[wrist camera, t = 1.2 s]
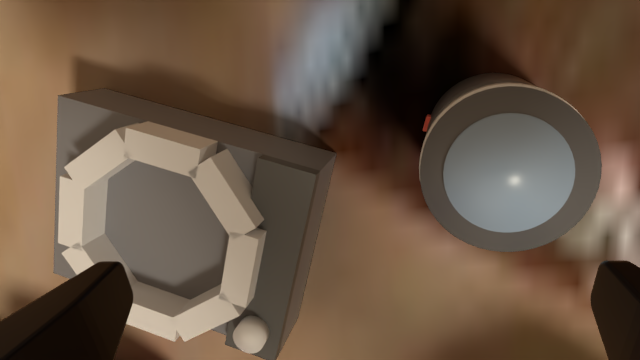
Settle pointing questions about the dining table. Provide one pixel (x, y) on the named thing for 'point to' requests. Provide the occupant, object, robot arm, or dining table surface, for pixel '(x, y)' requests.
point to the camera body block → (189, 216)
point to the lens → (507, 163)
